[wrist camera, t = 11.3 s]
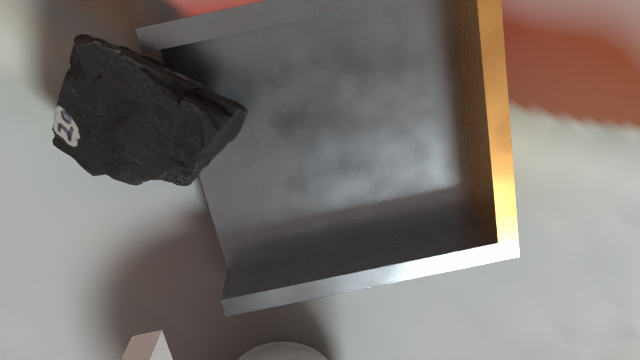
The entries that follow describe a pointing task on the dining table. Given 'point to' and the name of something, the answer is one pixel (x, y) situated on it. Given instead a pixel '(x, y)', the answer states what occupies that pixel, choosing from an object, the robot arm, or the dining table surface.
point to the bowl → (282, 352)
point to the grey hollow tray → (352, 141)
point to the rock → (139, 116)
